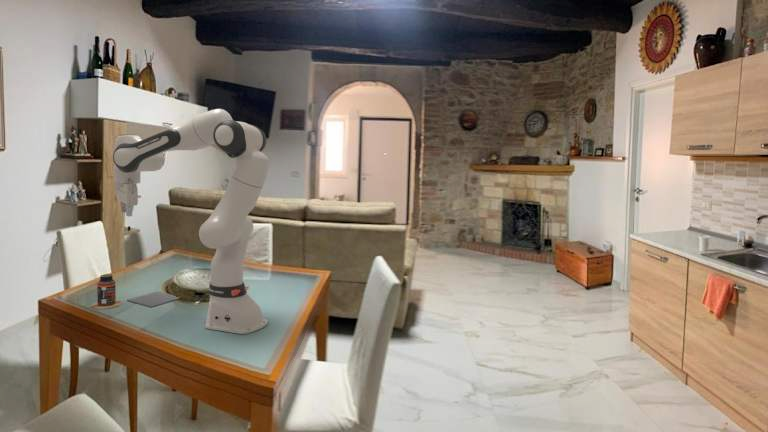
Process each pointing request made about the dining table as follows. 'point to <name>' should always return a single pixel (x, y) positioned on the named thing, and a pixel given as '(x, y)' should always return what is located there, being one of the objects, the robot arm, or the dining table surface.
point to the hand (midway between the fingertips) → (126, 214)
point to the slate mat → (153, 299)
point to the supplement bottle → (106, 290)
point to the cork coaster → (96, 306)
